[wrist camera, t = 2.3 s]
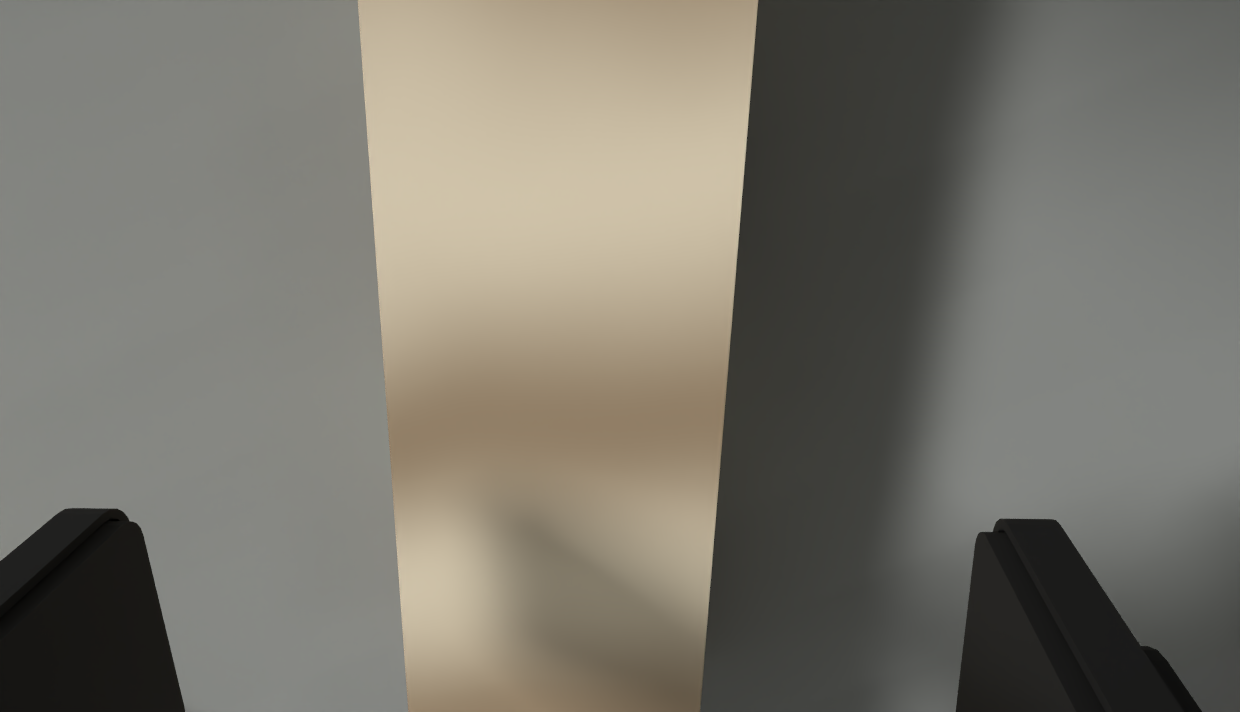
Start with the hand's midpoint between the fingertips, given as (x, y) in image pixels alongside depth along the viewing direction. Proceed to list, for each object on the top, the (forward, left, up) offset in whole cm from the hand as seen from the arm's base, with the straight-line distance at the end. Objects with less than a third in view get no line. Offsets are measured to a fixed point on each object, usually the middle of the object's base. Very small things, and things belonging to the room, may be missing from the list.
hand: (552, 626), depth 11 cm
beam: (-1, 0, -9) cm, 9 cm away
